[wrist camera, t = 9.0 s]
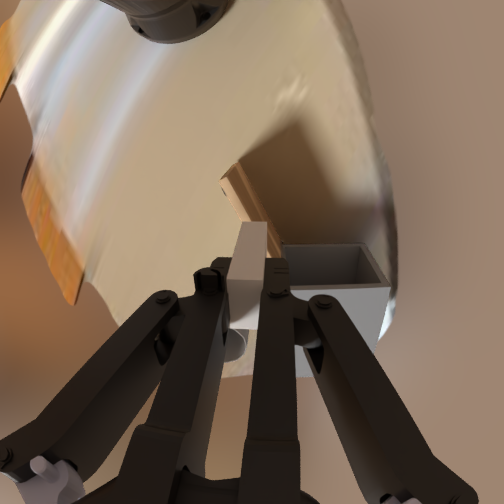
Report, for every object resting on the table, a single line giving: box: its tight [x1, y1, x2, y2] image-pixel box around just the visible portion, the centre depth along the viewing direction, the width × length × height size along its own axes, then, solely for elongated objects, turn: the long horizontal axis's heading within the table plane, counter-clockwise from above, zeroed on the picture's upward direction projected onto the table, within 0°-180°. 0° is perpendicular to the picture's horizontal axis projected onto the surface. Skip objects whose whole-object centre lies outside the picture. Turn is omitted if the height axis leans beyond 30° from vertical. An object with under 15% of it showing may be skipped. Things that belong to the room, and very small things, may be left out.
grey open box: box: [282, 244, 391, 377], centre depth 43 cm, size 16×14×13 cm
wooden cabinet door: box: [219, 162, 283, 258], centre depth 38 cm, size 2×14×11 cm, turn 28°
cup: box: [224, 322, 249, 363], centre depth 47 cm, size 8×8×10 cm
